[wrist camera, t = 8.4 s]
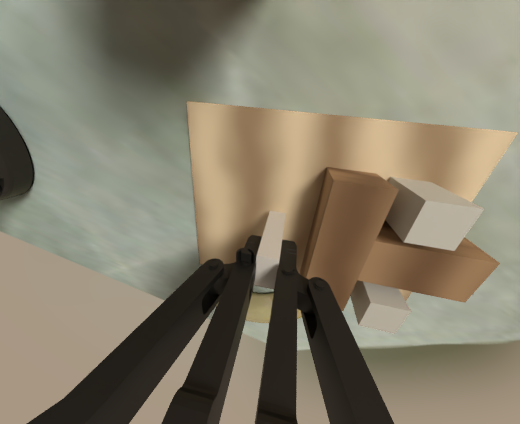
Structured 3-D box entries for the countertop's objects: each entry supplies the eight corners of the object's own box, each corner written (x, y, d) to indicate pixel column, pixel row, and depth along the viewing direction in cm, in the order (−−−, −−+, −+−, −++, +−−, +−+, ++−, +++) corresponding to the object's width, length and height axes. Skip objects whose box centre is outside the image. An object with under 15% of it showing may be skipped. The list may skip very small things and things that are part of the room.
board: (203, 258, 25) (199, 263, 24) (192, 102, 17) (186, 101, 16) (397, 299, 22) (401, 306, 21) (504, 131, 14) (518, 132, 13)
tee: (300, 271, 22) (299, 301, 18) (326, 166, 16) (333, 180, 12) (413, 294, 20) (437, 332, 17) (487, 188, 14) (546, 211, 11)
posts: (346, 281, 21) (358, 325, 17) (390, 176, 15) (425, 200, 11) (375, 287, 21) (395, 333, 16) (430, 181, 15) (484, 208, 11)
